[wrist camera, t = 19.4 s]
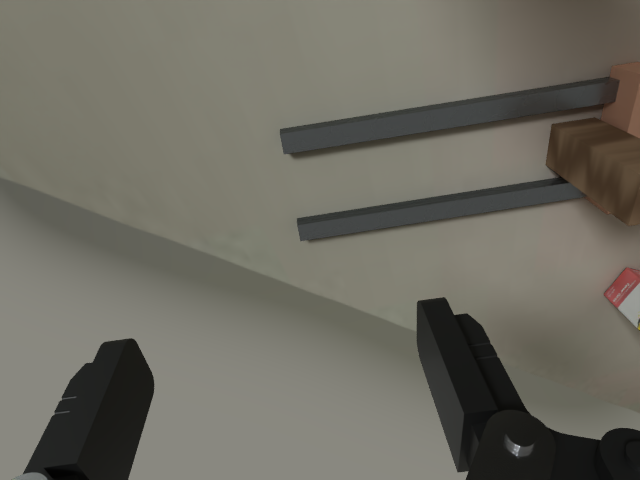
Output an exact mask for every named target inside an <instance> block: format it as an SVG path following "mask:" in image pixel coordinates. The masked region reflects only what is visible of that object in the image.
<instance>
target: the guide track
mask: <svg viewBox="0 0 640 480" xmlns="http://www.w3.org/2000/svg"><path fill="white" fill-rule="evenodd" d="M619 83H620V80H618V79H615V78H611V77H606V78H600V79H594V80H587V81H581V82H575V83H568V84H562V85H556V86H549V87H543V88H537V89H530V90H524V91H518V92H512V93H505V94H499V95H493V96H486V97H480V98H474V99H467V100H461V101H455V102H448V103H442V104H436V105H429V106H423V107H417V108H411V109H404V110H398V111H392V112H385V113H379V114H373V115H366V116H360V117H354V118H347V119H341V120H335V121H329V122H322V123H316V124H310V125H303V126H297V127H291V128H284V129H280V136H281V142H282V147H283V152H284V154H289V153H295V152H301V151H308V150H314V149H320V148H327V147H333V146H339V145H346V144H352V143H358V142H365V141H371V140H377V139H384V138H390V137H396V136H403V135H409V134H415V133H422V132H428V131H434V130H441V129H447V128H453V127H460V126H466V125H472V124H479V123H485V122H491V121H498V120H504V119H510V118H517V117H523V116H529V115H536V114H542V113H548V112H555V111H561V110H567V109H574V108H580V107H586V106H593V105H599V104H605V103H612V102H615V101H616V96H617V92H618V87H619ZM580 197H587V195H586V194H584V193H583V192H582V191H580V190H579V189H578V188H576V187H575V186H574V185H572V184H571V183H570V182H568V181H567V180H565V179H564V178H563V177H559V178H553V179H546V180H540V181H534V182H527V183H521V184H514V185H508V186H502V187H495V188H489V189H482V190H476V191H470V192H463V193H457V194H451V195H444V196H438V197H431V198H425V199H419V200H412V201H406V202H399V203H393V204H387V205H380V206H374V207H367V208H361V209H355V210H348V211H342V212H335V213H329V214H323V215H316V216H310V217H303V218H297V225H298V231H299V236H300V241H304V240H311V239H317V238H324V237H330V236H337V235H343V234H349V233H356V232H362V231H369V230H375V229H381V228H388V227H394V226H401V225H407V224H414V223H420V222H426V221H433V220H439V219H446V218H452V217H459V216H465V215H471V214H478V213H484V212H491V211H497V210H503V209H510V208H516V207H523V206H529V205H536V204H542V203H548V202H555V201H561V200H568V199H574V198H580Z"/></svg>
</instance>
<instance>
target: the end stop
mask: <svg viewBox="0 0 640 480" xmlns="http://www.w3.org/2000/svg"><path fill="white" fill-rule="evenodd" d="M610 77H611V78H615V79H618V80H620V83H619V87H618V92H617V96H616V101H615V102H612V103H605V104H604V106H603V111H602V116H601V120H602V121H604V122H606V123H608V124H610V125H612V126H614V127H617V128H619V129H621V130H623V131H625V132H627V133H629V134H631V135H634V136H636V137H638V138H640V63H639V62H634V63H628V64H621V65H615V66H612V69H611V73H610ZM584 198H586V199H587V200H588V201H590V202H591V203H592V204H594V205H595V206H596V207H598V208H599V209H600V210H602V211H603V212H604V213H606V214H611V213H610V212H609V211H607V210H606V209H605V208H603V207H602V206H601V205H599V204H598V203H597V202H595V201H594V200H593V199H591V198H590V197H588V196H587V197H584Z"/></svg>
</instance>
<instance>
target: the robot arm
mask: <svg viewBox="0 0 640 480" xmlns="http://www.w3.org/2000/svg"><path fill="white" fill-rule="evenodd" d="M417 347H418V352H419V357H420V361H421V364H422V366H423V370H424V373H425V376H426V378H427V382H428V385H429V388H430V391H431V394H432V397H433V399H434V403H435V406H436V408H437V412H438V414H439V417H440V421H441V424H442V427H443V430H444V433H445V436H446V439H447V442H448V445H449V447H450V451H451V454H452V457H453V460H454V463H455V466H456V469H457V472H465V471H469V472H468V475H467V477H466V480H640V431H638V430H634V429H629V428H618V429H613V430H611V431H609V432H607V433H606V434H605V435H604V436H603V437H602V439H601V440H596V439H590V438H584V437H578V436H573V435H567V434H562V433H559V432H556V431H554V430H552V429H550V428H548V427H546V426H545V425H544V424H543V423H542V422H541V421H540V420H538V419H537V418H535V417H534V416H532V415H531V414H530V413H529V412H528V411H527V409H526V408H525V406H524V404H523V403H522V401H521V399H520V397H519V395H518V394H517V391H516V389H515V388H514V386H513V384H512V382H511V380H510V378H509V376H508V374H507V373H506V371H505V369H504V367H503V365H502V363H501V361H500V359H499V358H498V357H497V353H496V352H495V350H494V348H493V346H492V345H491V344H490V340H489V338H488V336H487V335H486V333H485V331H484V329H483V327H482V326H481V325H480V324H479V323H478V322H477V321H476V320H474V319H473V318H472V317H471V316H470V315H468V314H459V315H454V314H453V312H452V310H451V308H450V306H449V303H448V301H447V300H446V298H444V297H443V298H436V299H428V300H421V301H418V302H417ZM153 393H154V379H153V375H152V372H151V370H150V368H149V366H148V364H147V362H146V360H145V358H144V356H143V354H142V352H141V350H140V348H139V346H138V344H137V342H136V341H135V340H134V339H123V340H116V341H109V342H104V343H103V344H102V345H101V346H100V348H99V350H98V353H97V355H96V357H95V359H94V361H93V363H86V364H85V365H84V366H83V367H82V368H81V369H80V370H79V371H78V372H77V373H76V375H75V376H74V377H73V378H72V379H71V380H70V382H69V384H68V386H67V388H66V390H65V392H64V394H63V396H62V401H60V402H59V404H58V406H57V408H56V410H55V415H53V416H52V418H51V420H50V422H49V424H48V426H47V428H46V429H45V431H44V433H43V435H42V437H41V440H40V441H39V444H38V445H37V447H36V450H35V451H34V453H33V455H32V457H31V459H30V461H29V463H28V465H27V467H26V469H25V471H24V473H23V475H20V476H18V477H16V478H14V479H12V480H128V478H129V474H130V471H131V468H132V464H133V461H134V458H135V454H136V451H137V448H138V444H139V440H140V437H141V434H142V431H143V428H144V424H145V421H146V417H147V414H148V411H149V407H150V404H151V400H152V397H153Z"/></svg>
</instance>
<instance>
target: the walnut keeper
mask: <svg viewBox="0 0 640 480" xmlns="http://www.w3.org/2000/svg"><path fill="white" fill-rule="evenodd" d="M546 165H547V166H548V167H549V168H551V169H552V170H553V171H555V172H556V173H557V174H559V175H560V176H561V177H563V178H564V179H565V180H567V181H568V182H570V183H571V184H572V185H574V186H575V187H576V188H578V189H579V190H580V191H582V192H583V193H584V194H586V195H587V196H588V197H590V198H591V199H593V200H594V201H595V202H597V203H598V204H599V205H601V206H602V207H603V208H605V209H606V210H607V211H609V212H610V213H611V214H613V215H614V216H615V217H617V218H618V219H620V220H621V221H622V222H624V223H625V224H626V225H628V226H631V225H638V224H640V138H638V137H636V136H634V135H631V134H629V133H627V132H625V131H623V130H621V129H619V128H617V127H614V126H612V125H610V124H608V123H606V122H604V121H602V120H600V119H597V118H589V119H582V120H576V121H569V122H563V123H557V124H552V126H551V133H550V139H549V146H548V153H547V159H546Z"/></svg>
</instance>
